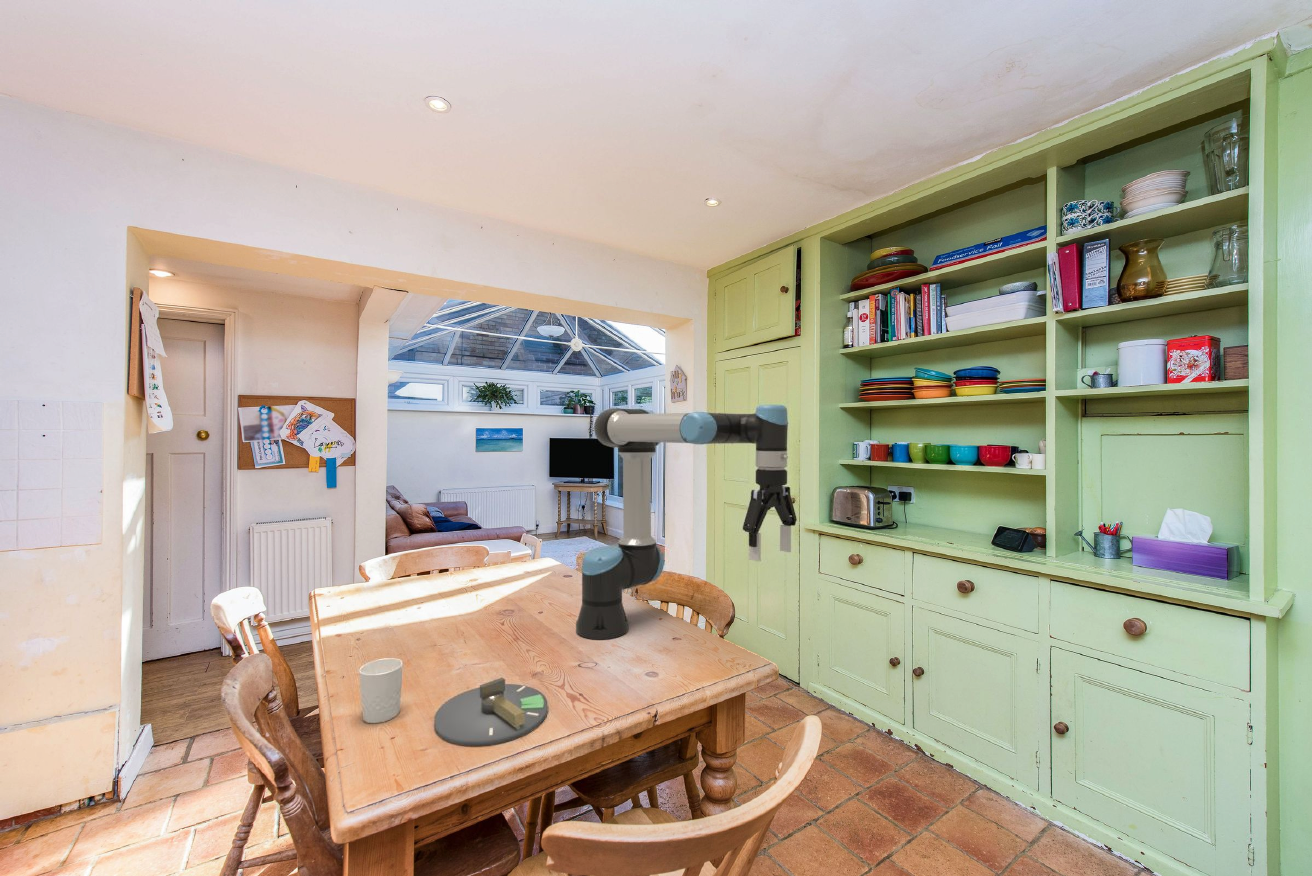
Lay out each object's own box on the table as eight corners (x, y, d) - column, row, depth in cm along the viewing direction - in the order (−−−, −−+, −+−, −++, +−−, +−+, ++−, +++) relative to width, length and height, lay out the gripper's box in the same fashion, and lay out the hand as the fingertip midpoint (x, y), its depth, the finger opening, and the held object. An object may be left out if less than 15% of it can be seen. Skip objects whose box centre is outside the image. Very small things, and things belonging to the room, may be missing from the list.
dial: (416, 714, 110) (416, 707, 110) (512, 680, 126) (512, 673, 126) (465, 761, 95) (465, 753, 95) (568, 715, 110) (568, 708, 110)
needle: (475, 708, 110) (475, 682, 110) (498, 699, 114) (498, 675, 114) (508, 732, 101) (508, 705, 101) (531, 722, 105) (531, 696, 105)
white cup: (369, 705, 114) (369, 658, 114) (408, 704, 115) (408, 657, 114) (352, 726, 106) (351, 675, 106) (393, 724, 107) (393, 674, 107)
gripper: (755, 471, 120) (754, 567, 120) (810, 466, 138) (810, 550, 138) (727, 470, 125) (727, 561, 126) (784, 465, 143) (784, 545, 143)
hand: (770, 555), depth 132 cm, fingers open, 13 cm apart
